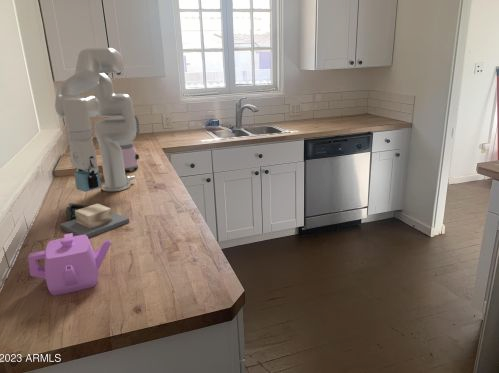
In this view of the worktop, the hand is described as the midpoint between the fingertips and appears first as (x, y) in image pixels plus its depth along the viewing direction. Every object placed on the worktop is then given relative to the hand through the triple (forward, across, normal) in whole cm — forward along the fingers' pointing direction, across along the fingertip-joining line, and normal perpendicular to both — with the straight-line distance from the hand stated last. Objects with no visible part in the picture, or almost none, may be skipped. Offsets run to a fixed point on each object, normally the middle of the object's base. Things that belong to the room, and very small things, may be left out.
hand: (88, 185), depth 138 cm
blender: (+15, -54, +51) cm, 76 cm away
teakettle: (+16, +30, -23) cm, 41 cm away
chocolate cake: (+16, -12, +1) cm, 20 cm away
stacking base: (+15, 0, 0) cm, 15 cm away
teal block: (+1, 0, 0) cm, 1 cm away
